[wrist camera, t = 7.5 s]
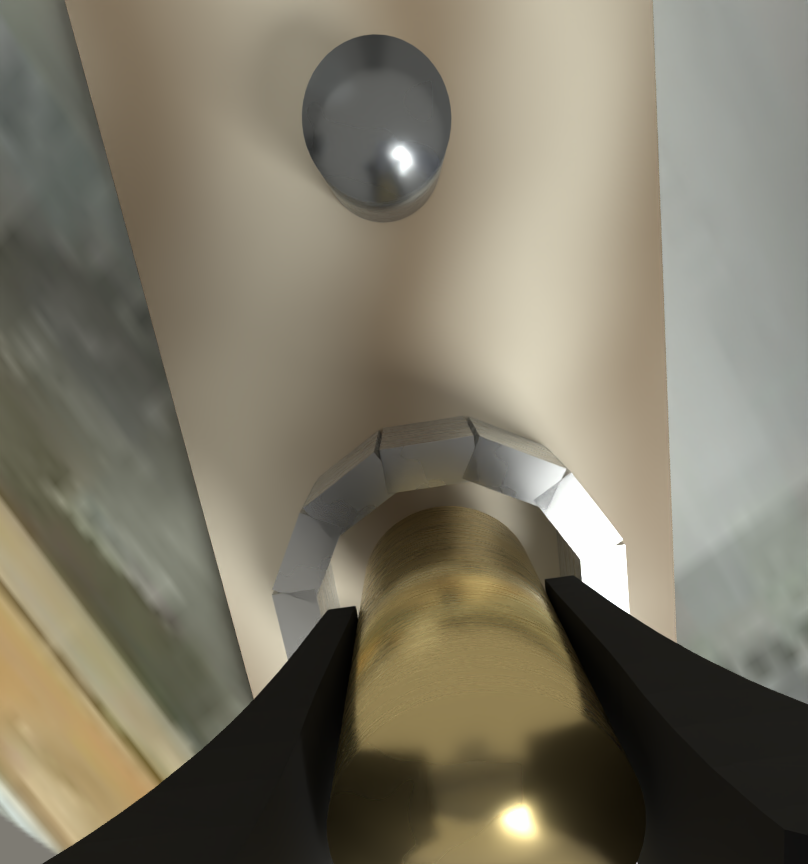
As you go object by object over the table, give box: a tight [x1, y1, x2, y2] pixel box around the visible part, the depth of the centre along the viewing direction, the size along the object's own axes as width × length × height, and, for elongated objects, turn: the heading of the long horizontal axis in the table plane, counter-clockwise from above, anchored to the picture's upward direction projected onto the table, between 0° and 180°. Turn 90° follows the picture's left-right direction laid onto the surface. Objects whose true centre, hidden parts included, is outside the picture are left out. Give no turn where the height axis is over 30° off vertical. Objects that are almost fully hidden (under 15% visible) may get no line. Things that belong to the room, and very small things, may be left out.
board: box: [65, 0, 677, 698], centre depth 13 cm, size 12×20×1 cm, turn 9°
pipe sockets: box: [272, 34, 629, 659], centre depth 12 cm, size 8×15×2 cm, turn 9°
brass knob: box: [327, 506, 646, 864], centre depth 9 cm, size 4×4×6 cm
